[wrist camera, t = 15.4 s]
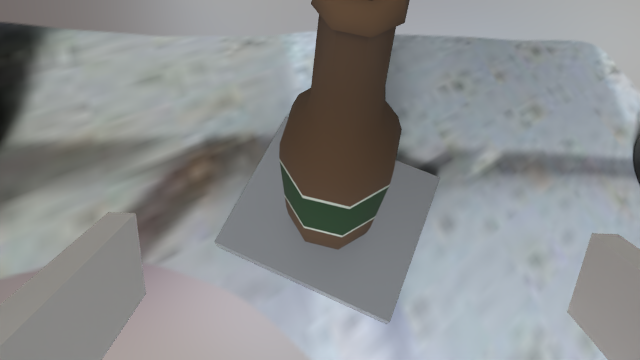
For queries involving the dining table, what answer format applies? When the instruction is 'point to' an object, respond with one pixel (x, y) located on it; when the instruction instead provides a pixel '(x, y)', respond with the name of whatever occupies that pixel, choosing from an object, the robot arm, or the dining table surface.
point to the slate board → (323, 262)
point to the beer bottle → (343, 124)
